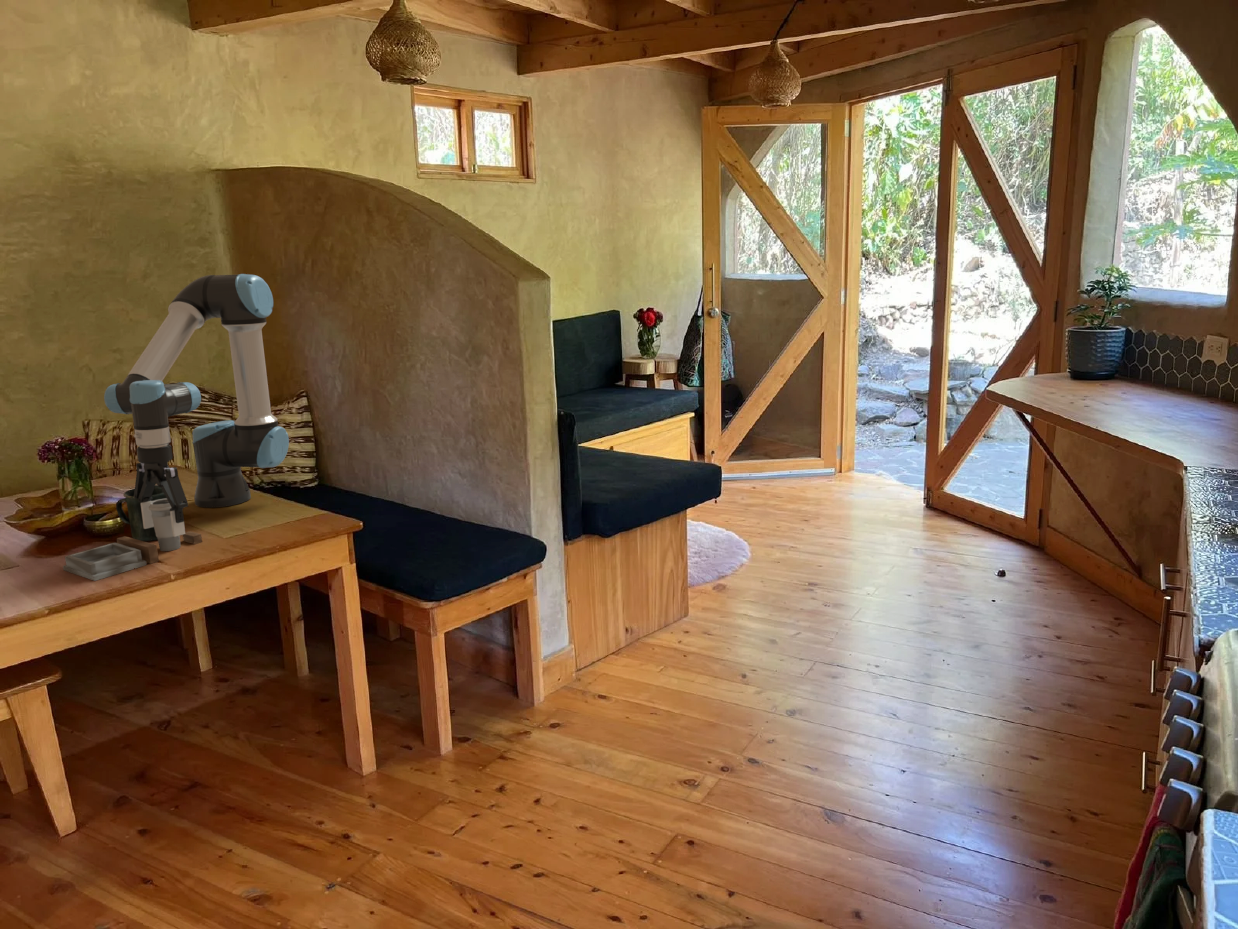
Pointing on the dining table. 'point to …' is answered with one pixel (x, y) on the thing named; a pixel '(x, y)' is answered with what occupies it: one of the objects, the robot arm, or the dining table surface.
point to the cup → (163, 525)
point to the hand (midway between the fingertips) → (164, 531)
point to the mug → (138, 514)
